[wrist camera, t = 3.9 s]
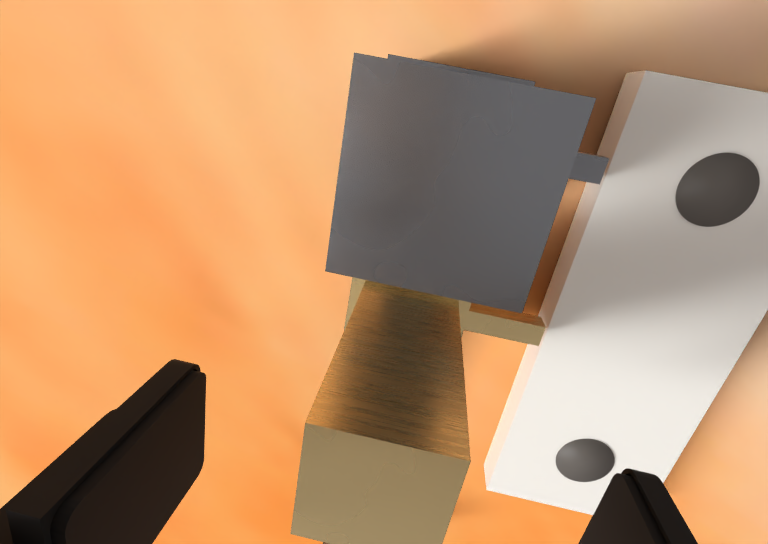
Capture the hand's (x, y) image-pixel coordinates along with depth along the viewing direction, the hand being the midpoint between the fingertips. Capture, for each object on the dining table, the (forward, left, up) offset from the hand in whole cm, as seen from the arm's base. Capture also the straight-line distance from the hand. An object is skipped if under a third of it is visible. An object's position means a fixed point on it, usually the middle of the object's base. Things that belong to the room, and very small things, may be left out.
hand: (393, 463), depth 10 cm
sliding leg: (-1, +1, -8) cm, 8 cm away
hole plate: (-1, +9, -9) cm, 13 cm away
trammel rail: (+3, +1, -9) cm, 10 cm away
